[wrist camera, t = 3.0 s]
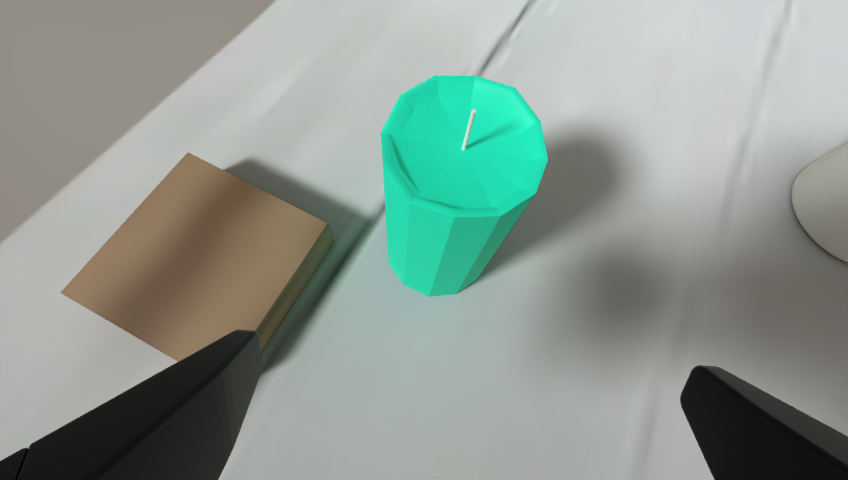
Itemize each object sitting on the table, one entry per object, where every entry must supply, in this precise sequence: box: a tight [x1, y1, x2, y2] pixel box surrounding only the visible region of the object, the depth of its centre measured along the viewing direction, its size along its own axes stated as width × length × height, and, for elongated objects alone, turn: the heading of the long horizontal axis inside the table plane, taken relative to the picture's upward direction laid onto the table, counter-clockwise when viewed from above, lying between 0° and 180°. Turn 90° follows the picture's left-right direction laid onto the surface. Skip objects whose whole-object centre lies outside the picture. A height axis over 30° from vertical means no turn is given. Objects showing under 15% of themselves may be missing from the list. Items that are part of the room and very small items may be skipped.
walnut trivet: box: [61, 153, 334, 362], centre depth 21 cm, size 9×9×2 cm
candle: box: [381, 76, 548, 296], centre depth 18 cm, size 6×6×12 cm
